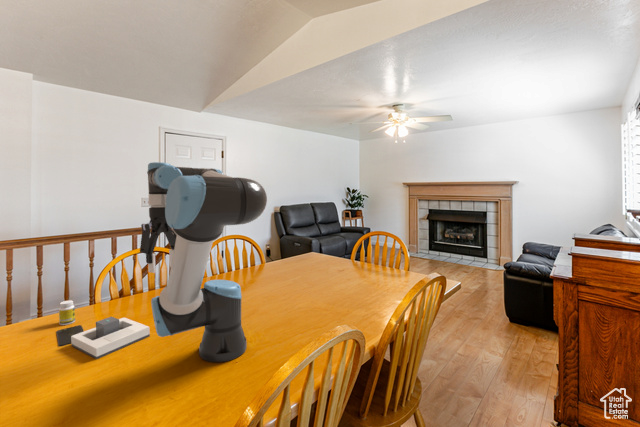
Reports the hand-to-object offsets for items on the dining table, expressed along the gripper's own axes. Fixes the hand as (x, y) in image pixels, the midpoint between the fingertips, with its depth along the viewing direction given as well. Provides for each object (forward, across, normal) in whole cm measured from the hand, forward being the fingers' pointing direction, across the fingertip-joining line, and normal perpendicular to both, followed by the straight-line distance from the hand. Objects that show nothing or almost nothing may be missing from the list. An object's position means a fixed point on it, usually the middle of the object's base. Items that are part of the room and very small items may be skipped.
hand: (162, 269), depth 107 cm
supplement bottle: (+24, +9, -43) cm, 50 cm away
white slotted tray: (+24, +10, -13) cm, 30 cm away
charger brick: (+23, +10, -16) cm, 30 cm away
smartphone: (+24, +14, -30) cm, 42 cm away
